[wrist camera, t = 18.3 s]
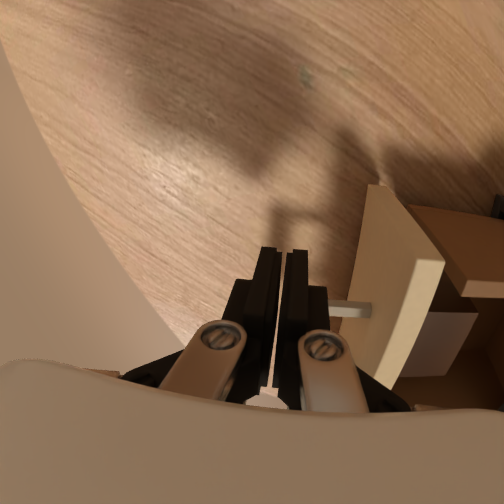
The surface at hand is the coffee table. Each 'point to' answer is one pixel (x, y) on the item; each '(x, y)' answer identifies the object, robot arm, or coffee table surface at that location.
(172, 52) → the coffee table surface
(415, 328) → the drawer
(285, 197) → the coffee table surface
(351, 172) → the coffee table surface
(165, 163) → the coffee table surface
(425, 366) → the block
